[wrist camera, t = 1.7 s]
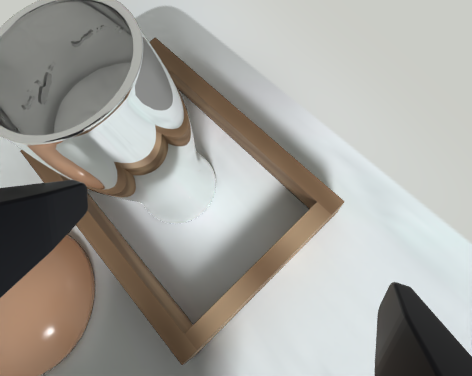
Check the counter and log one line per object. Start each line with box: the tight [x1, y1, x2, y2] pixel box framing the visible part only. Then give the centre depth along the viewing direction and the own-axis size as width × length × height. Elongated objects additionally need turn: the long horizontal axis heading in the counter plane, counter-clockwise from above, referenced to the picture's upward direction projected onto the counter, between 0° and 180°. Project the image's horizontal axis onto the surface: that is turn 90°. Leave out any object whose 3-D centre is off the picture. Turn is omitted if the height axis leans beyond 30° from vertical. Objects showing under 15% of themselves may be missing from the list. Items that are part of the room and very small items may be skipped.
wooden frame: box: [21, 38, 344, 365], centre depth 24 cm, size 14×20×3 cm
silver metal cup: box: [0, 0, 216, 224], centre depth 19 cm, size 7×7×15 cm
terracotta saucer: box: [0, 235, 95, 376], centre depth 25 cm, size 11×11×1 cm
